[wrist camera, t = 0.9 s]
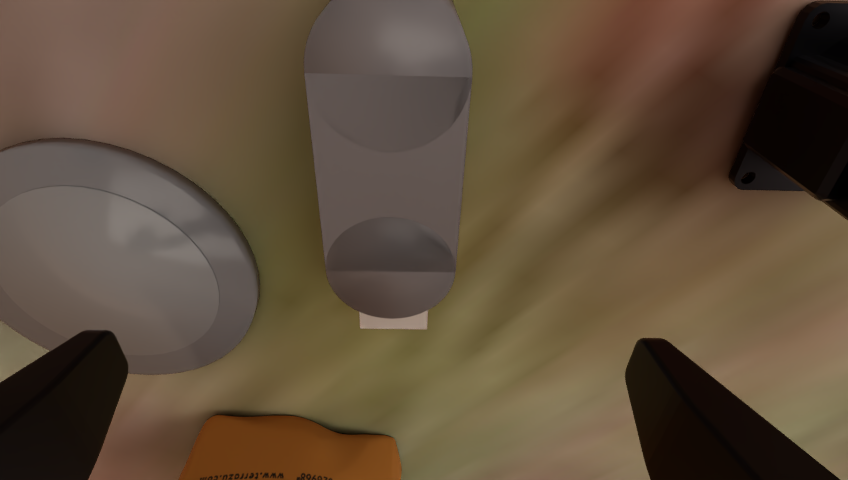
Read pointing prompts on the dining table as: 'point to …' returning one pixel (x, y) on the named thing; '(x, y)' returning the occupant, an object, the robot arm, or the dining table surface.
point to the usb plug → (389, 152)
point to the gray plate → (120, 255)
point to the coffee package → (287, 452)
